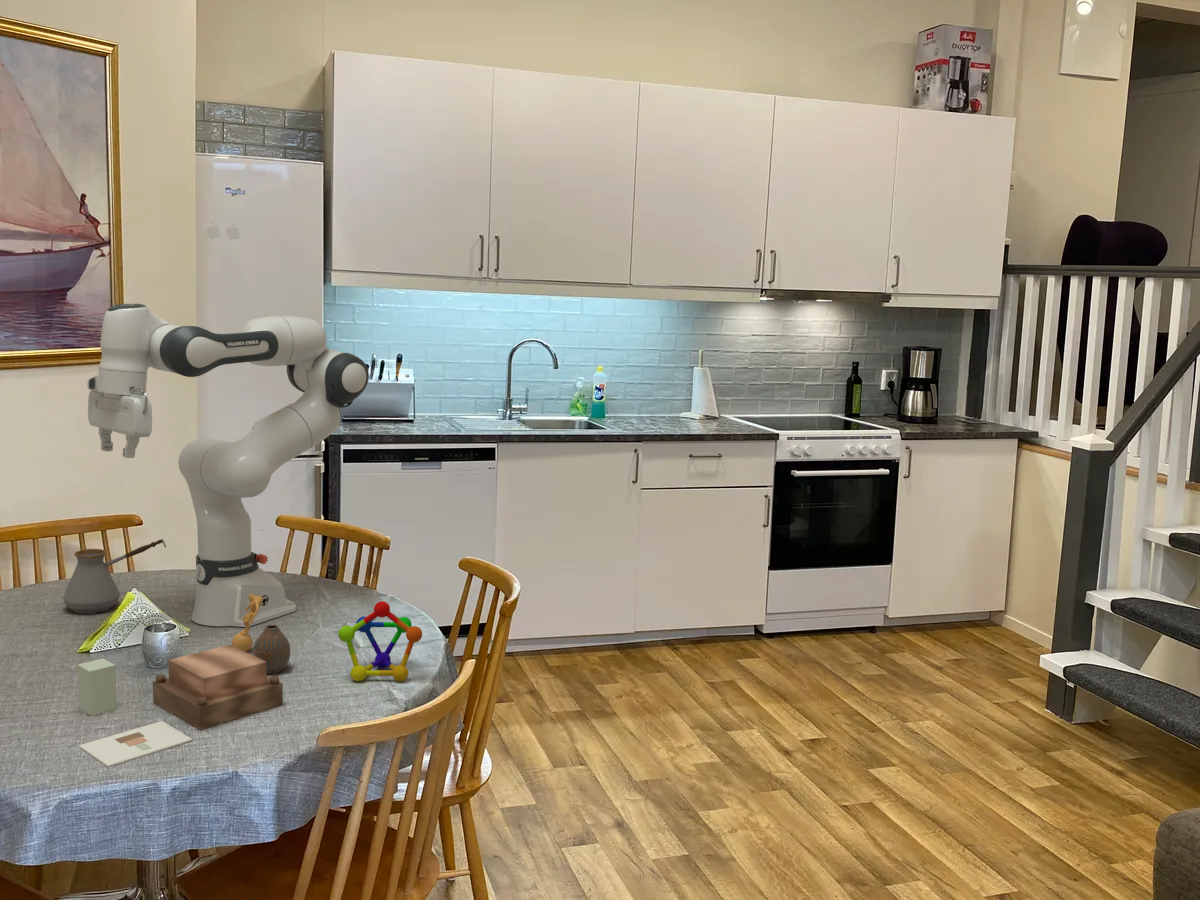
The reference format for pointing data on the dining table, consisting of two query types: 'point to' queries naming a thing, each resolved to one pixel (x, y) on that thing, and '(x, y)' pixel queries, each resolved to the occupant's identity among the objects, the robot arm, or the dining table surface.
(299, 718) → the dining table surface
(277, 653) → the vase
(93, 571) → the coffee pot
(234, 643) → the figurine
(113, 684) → the upright grey-green brick
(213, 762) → the dining table surface
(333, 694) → the dining table surface
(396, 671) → the educational toy
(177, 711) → the stacked wooden pedestal
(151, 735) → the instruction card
